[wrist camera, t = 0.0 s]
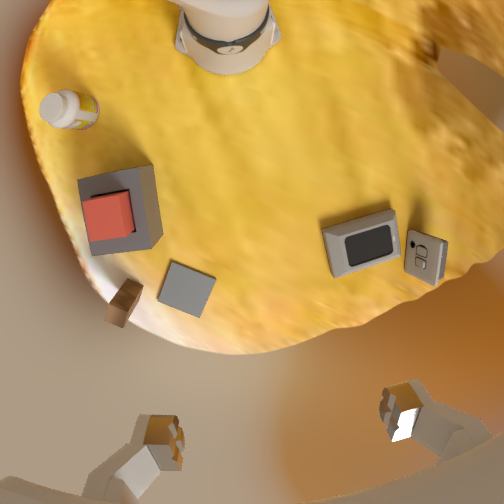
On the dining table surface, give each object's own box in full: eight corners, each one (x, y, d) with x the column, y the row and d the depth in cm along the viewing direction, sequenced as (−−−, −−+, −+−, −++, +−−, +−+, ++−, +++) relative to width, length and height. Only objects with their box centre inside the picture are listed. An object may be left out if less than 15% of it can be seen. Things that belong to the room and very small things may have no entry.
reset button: (95, 196, 47) (82, 201, 42) (129, 190, 47) (118, 195, 42) (102, 233, 49) (90, 241, 44) (135, 228, 49) (125, 236, 44)
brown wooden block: (123, 293, 61) (104, 320, 50) (127, 278, 60) (108, 303, 49) (138, 300, 61) (123, 328, 51) (143, 285, 60) (127, 312, 50)
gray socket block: (98, 174, 53) (77, 179, 45) (153, 164, 53) (138, 167, 45) (110, 241, 57) (92, 256, 49) (163, 234, 57) (151, 248, 49)
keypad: (326, 233, 56) (398, 211, 55) (320, 228, 59) (390, 208, 58) (336, 280, 59) (404, 257, 58) (330, 273, 62) (396, 252, 61)
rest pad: (158, 299, 61) (157, 301, 61) (172, 260, 59) (172, 262, 59) (199, 316, 63) (199, 317, 62) (216, 278, 61) (216, 280, 60)
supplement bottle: (81, 91, 48) (46, 80, 36) (106, 103, 49) (75, 93, 37) (65, 122, 49) (28, 118, 37) (90, 135, 51) (55, 133, 38)
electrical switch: (406, 228, 60) (434, 241, 51) (425, 227, 60) (453, 239, 52) (403, 271, 63) (428, 288, 54) (421, 268, 63) (446, 284, 54)
